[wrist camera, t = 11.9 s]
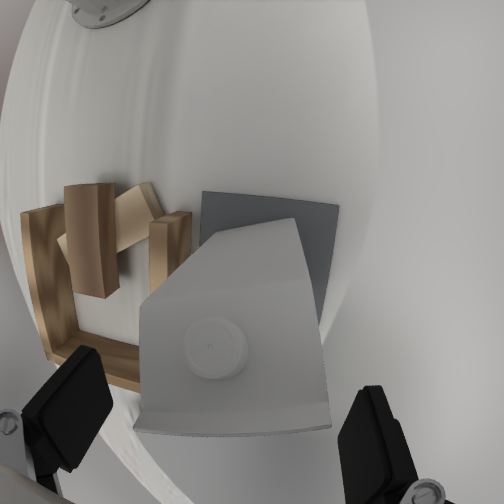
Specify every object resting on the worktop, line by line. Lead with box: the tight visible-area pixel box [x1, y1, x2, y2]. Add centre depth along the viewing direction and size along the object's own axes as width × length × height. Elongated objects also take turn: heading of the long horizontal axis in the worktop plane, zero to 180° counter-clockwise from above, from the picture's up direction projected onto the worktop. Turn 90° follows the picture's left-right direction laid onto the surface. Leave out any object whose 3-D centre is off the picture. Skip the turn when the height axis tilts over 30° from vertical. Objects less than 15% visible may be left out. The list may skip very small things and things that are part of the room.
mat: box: [200, 191, 339, 326], centre depth 27 cm, size 12×12×1 cm
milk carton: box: [133, 218, 332, 437], centre depth 17 cm, size 7×7×19 cm
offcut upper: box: [64, 183, 120, 299], centre depth 24 cm, size 4×10×3 cm, turn 177°
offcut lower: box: [57, 183, 165, 265], centre depth 26 cm, size 4×12×3 cm, turn 114°
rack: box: [20, 204, 192, 393], centre depth 26 cm, size 18×17×6 cm
